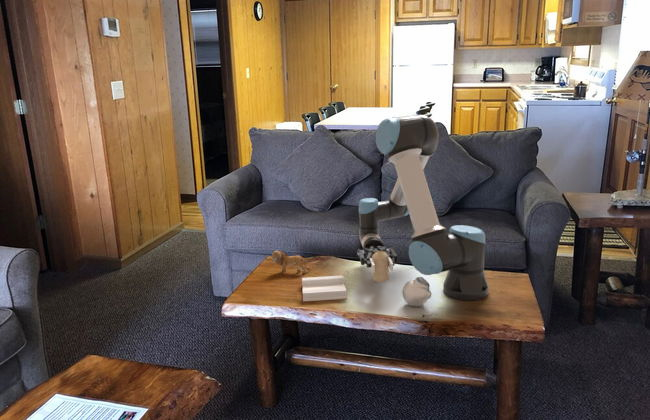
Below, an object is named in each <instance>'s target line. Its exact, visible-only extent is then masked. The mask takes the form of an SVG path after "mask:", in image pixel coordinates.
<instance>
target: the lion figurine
mask: <svg viewBox="0 0 650 420" xmlns="http://www.w3.org/2000/svg"><path fill="white" fill-rule="evenodd" d="M271 254H272V256H271V260H272V261H273V262H274V263H276V264H277V265H278V266H282V269H281V271H282V272H281V273H282V274H286V272H287V266H294V265H297V267H299V268H297V271H301V270H302V272H301V273H302V274H306V270H307V271H311V269H310V268H308V267H307V264H306V261H305V260H304V258H303V257H302V256H301V255H298V254H297V255H288V254H287V253H285V252H283V251H282V250H274V251H273V252H271Z"/></svg>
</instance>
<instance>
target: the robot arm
mask: <svg viewBox="0 0 650 420" xmlns="http://www.w3.org/2000/svg"><path fill="white" fill-rule="evenodd" d="M439 138H440V133H439V129H438V126H437V123H435V121H434V120H433V119H432V118H431V117H429V116H427V115H424V114H413V115H406V116H392V117H389V118H385V119H383V120H381V121H380V123H379V124H378V126H377V128H376V133H375V144H376V148H377V150H378V151H379V152H380V153H381V154H383V155H386V157H387V160H388V162H390V163H392V164H394V167H395V171H396V174H397V178H396V182H395V183H394V184H395V185H394V187H393V190H392V191H391V194H390V196H389V198H388V199H387V200H383V201H379V200H378V199H377V198H374V197H369V198H368V197H366V198H362V199H360V201H359V202H358V215H359V216H358V217H359V231H358V239H359V240H358V241H359V242H360V244H361V246H362V249H359V248H358V249H357V251H356V253H357V257H358V258H359V261H360V265H361V266H365V265H366V268H370V269H371V272H372V274H373V273H375V264H374V262H373V260H372V256H373V254H374V253H375V252H377V251H383V252H385V253H386V254H387V255H388V265H389V271H390V272H394V266H396V265H395V264H398V255H397V252H396V251H395V248H394V247H393V246H391V247H389V248H387V247H385V245H384V243H383V241H382V238H381V237H380V234H379V233H380V230H379V228H380V227H379V226H380V225H379V223H380V222H381V221H388V220H393V219H398V218H403V217H405V216H408V215H409V218H410V222H411V224H412V229H413V234H412V235H411V241H412V242H411V244H409V246H408V257H409V260H410V263H411V265H412V267H413V268H414V269H415V270H416V271H417V272H419V273H420V274H421V275H424V276H432V275H439V274H440V273H443V272H446V271H447V273H446V276H445V280H444V282H443V285H442V286H443V287H442V288H443V289H442V291H443V293H444V294H445V295H446V296H448V297H450V298H453V299H455V300H460V301H461V300H462V301H477V300H482V299H484V298H486V297H487V296H488V295H489V283H488V281H487V278H486V274H485V255H486V244H487V243H486V234H485V232H484V230H482V229H481V228H479V227H475V226H471V225H463V224H461V225H459V224H458V225H452V226H451V227H450V229H449V230H448V231H449V233H448V232H447V228H446V227H445V226H443V225H442V224H441V223H440V221H439V218H438V215H437V212H436V208H435V205H434V201H433V198H432V195H431V190H430V189H429V186H428V182H427V178H426V175H425V172H424V170H425V167H426V165H427V163H428V161H429V158H430V157H432V156H434V154H435V152H436V150H437V147H438V146H439V141H440V139H439ZM364 255H365V256H366V258H365V256H364Z"/></svg>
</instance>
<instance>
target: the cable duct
mask: <svg viewBox="0 0 650 420" xmlns="http://www.w3.org/2000/svg"><path fill="white" fill-rule="evenodd" d="M301 285H302V302H312V301H313V302H315V301H316V302H317V301H329V300H331V301H332V300H345V299H347V298H348V297H347V295H348V294H347V293H348V292H347V288H346V287H345V284H344V275H330V276H327V275H326V276H311V277H309V276H308V277H301Z"/></svg>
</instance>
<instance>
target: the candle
mask: <svg viewBox="0 0 650 420" xmlns="http://www.w3.org/2000/svg"><path fill="white" fill-rule="evenodd" d="M372 260H373V262H374V264H375V273H373V272H372V279H373V281H374V282H376V283H382V282H388V281H389V279H390V277H389V276H390V274H389V273H390V268H389V265H388V255H387V254H386V253H385V252H383V251H377V252H375V253H374V254H373V256H372Z"/></svg>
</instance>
